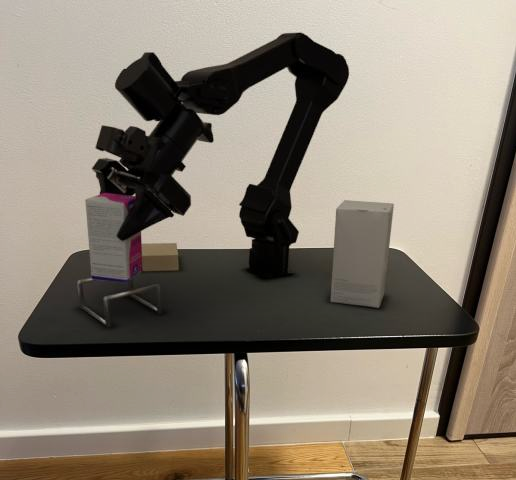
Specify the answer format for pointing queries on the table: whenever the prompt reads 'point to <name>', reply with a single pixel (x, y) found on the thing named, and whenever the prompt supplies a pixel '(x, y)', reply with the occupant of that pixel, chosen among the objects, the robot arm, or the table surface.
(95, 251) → the supplement box
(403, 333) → the table surface
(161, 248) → the ledge
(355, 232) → the cosmetic box
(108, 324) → the rack
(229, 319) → the table surface
